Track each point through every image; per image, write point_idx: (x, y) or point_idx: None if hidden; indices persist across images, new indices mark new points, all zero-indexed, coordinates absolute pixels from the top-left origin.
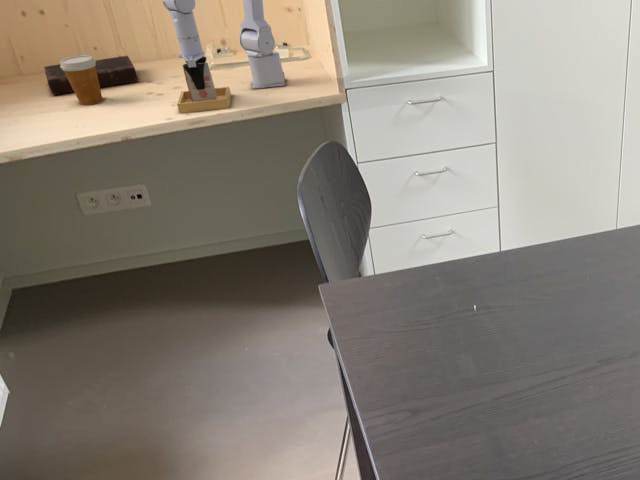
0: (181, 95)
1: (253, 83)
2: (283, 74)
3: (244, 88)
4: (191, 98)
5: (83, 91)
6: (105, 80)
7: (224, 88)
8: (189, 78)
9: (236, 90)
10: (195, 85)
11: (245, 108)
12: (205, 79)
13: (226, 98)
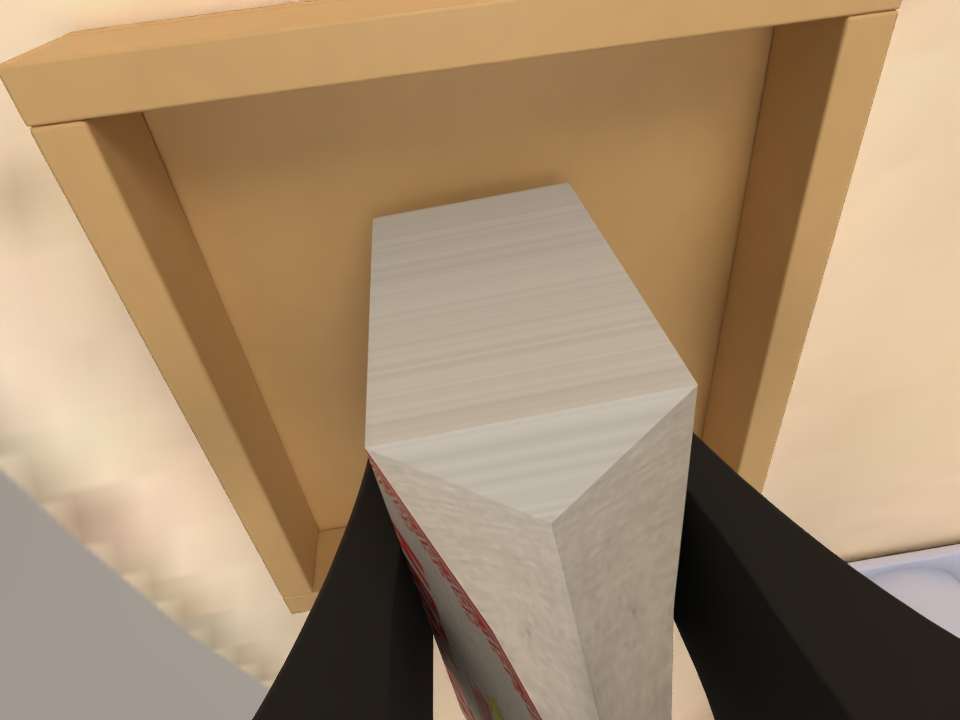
0: (616, 20)
1: (905, 566)
2: None
3: (862, 513)
4: (375, 257)
5: None
6: None
7: None
8: (416, 555)
9: (844, 474)
10: (357, 511)
11: (277, 625)
12: (449, 675)
13: (309, 607)
